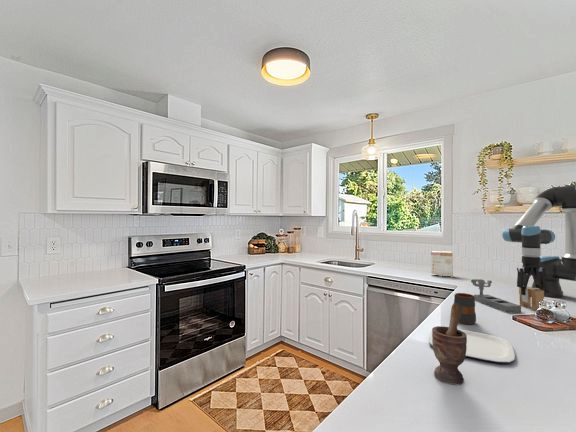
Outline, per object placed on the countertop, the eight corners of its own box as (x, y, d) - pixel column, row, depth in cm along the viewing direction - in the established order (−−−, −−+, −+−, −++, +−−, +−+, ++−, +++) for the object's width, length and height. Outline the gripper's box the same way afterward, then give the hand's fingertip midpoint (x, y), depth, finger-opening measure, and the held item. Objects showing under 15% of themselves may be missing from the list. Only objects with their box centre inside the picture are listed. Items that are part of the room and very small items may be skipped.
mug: (477, 319, 135) (477, 293, 135) (475, 326, 125) (475, 298, 125) (455, 315, 140) (455, 290, 140) (451, 322, 130) (451, 295, 130)
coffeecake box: (452, 276, 237) (452, 251, 237) (452, 277, 231) (452, 252, 231) (432, 274, 245) (432, 250, 245) (431, 275, 239) (431, 251, 239)
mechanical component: (492, 298, 171) (492, 280, 171) (472, 297, 173) (472, 279, 173) (489, 296, 174) (489, 279, 174) (470, 295, 176) (470, 278, 176)
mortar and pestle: (433, 363, 93) (433, 298, 93) (465, 370, 89) (465, 302, 89) (431, 380, 82) (431, 308, 83) (467, 389, 78) (467, 313, 79)
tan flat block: (526, 305, 157) (526, 286, 157) (543, 310, 147) (543, 290, 147) (519, 305, 157) (519, 286, 157) (536, 311, 147) (536, 290, 147)
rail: (487, 299, 167) (487, 294, 167) (521, 312, 145) (521, 305, 145) (473, 300, 166) (473, 294, 166) (505, 312, 144) (505, 306, 145)
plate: (518, 371, 89) (518, 366, 89) (425, 351, 102) (425, 346, 102) (510, 342, 110) (510, 337, 110) (434, 328, 123) (434, 324, 124)
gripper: (541, 255, 157) (541, 299, 157) (507, 255, 155) (507, 299, 155) (555, 256, 149) (555, 303, 149) (519, 257, 148) (520, 303, 148)
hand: (531, 301), depth 152 cm, fingers open, 6 cm apart
